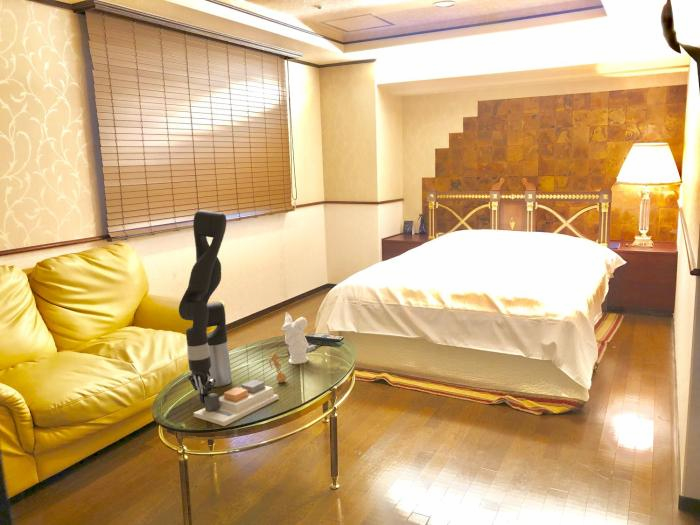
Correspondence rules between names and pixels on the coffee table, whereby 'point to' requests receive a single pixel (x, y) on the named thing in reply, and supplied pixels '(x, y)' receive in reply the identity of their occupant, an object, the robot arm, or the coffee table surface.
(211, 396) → the dark grey block
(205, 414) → the control panel
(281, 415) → the coffee table surface
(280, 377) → the figurine
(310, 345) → the walkie-talkie
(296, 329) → the cherub figurine
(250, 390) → the grey button
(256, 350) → the coffee table surface
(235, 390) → the orange button
